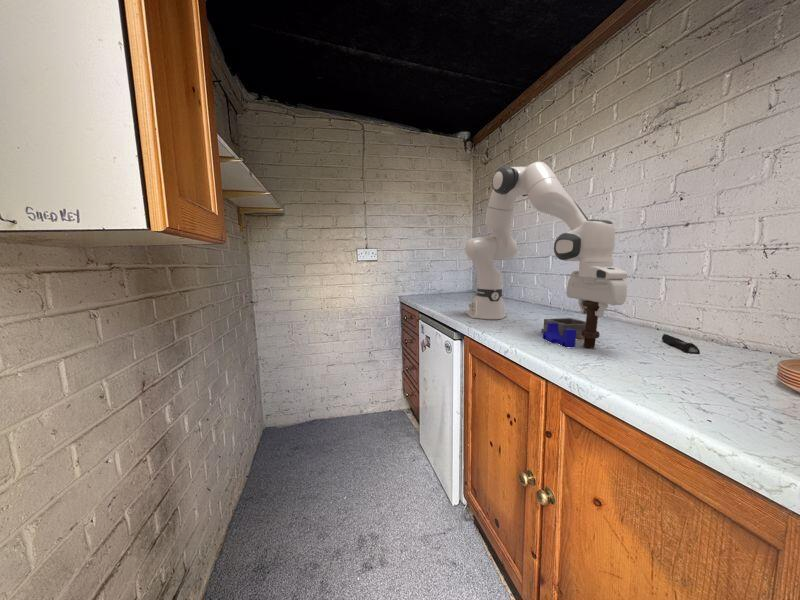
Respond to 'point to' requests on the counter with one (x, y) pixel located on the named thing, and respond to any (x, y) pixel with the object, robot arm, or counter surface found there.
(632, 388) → the counter surface
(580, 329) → the bolt stand
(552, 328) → the cable clip
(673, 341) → the electric trimmer
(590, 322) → the bolt
